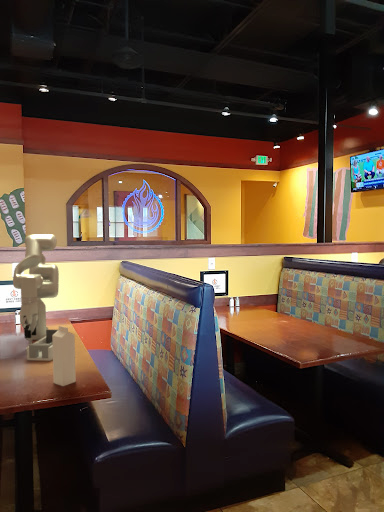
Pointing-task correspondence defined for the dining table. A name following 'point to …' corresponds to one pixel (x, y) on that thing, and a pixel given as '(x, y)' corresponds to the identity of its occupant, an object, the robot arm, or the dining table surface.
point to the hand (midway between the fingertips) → (30, 336)
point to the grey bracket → (44, 354)
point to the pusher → (49, 336)
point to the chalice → (32, 327)
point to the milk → (63, 357)
